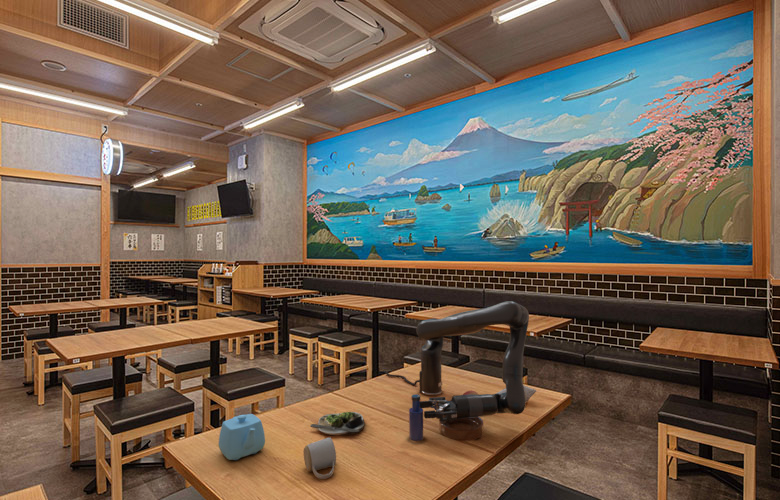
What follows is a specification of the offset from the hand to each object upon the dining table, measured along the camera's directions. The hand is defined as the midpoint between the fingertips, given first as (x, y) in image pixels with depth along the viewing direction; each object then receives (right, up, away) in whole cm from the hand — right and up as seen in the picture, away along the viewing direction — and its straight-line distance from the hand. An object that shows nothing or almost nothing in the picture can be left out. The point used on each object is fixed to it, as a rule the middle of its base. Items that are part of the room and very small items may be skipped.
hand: (421, 409), depth 129 cm
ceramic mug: (-30, -10, -18) cm, 37 cm away
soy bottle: (-2, -10, -1) cm, 10 cm away
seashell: (+41, -10, +32) cm, 53 cm away
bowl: (+14, -10, +4) cm, 18 cm away
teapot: (-57, -10, -9) cm, 59 cm away
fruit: (+22, -10, +22) cm, 33 cm away
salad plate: (-28, -11, +10) cm, 32 cm away
